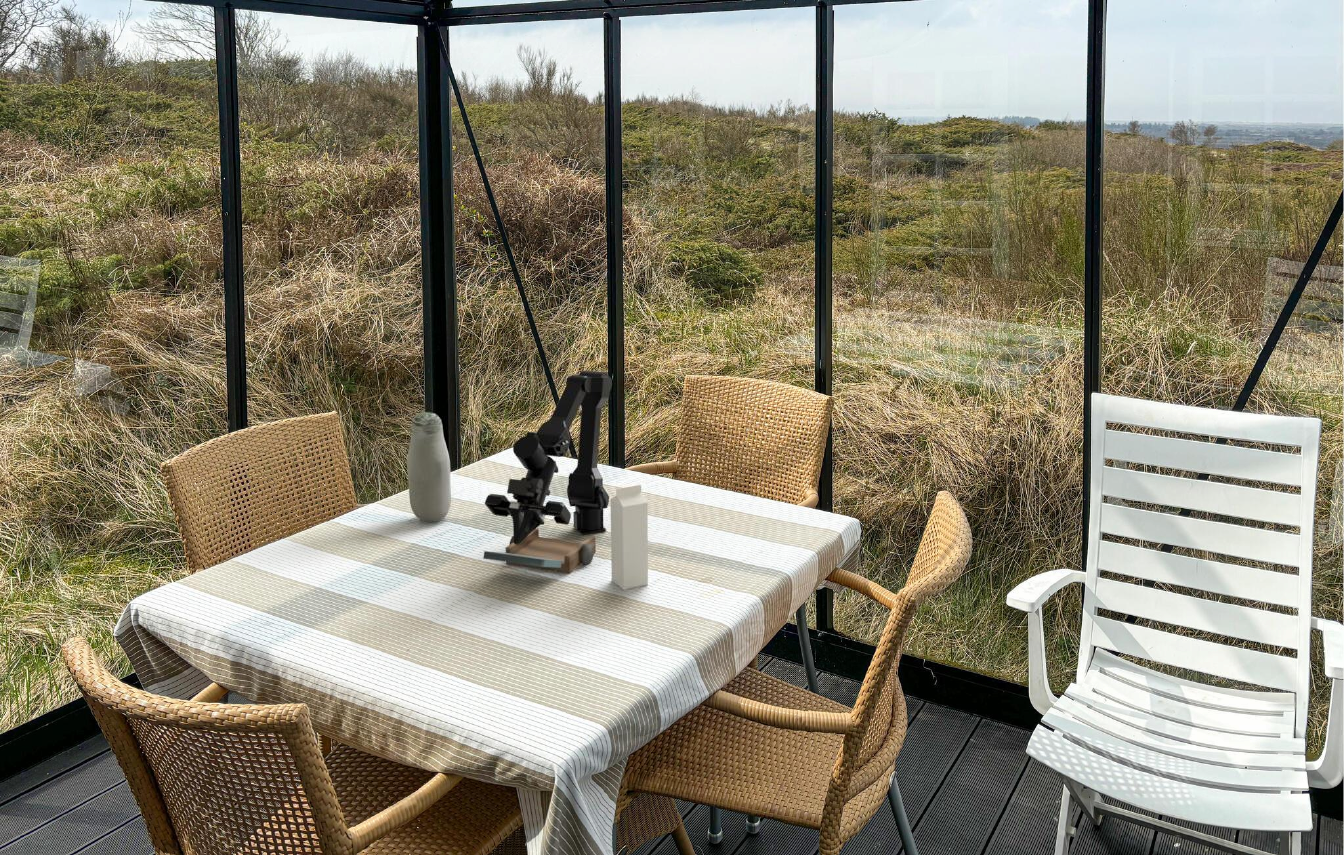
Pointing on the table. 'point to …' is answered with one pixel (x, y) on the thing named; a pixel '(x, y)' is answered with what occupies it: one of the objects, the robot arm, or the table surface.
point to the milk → (629, 538)
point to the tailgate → (522, 559)
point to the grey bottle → (428, 469)
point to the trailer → (554, 551)
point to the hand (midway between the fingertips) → (515, 543)
